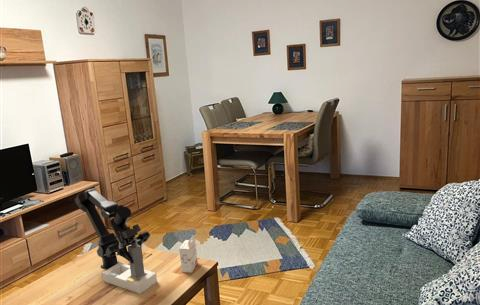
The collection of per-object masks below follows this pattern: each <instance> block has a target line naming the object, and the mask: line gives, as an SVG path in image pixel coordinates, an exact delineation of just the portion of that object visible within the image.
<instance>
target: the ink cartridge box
mask: <svg viewBox="0 0 480 305" xmlns="http://www.w3.org/2000/svg"><path fill="white" fill-rule="evenodd" d="M196 245H197V244H196V238H195V234H192V236H191V237H190V238H189V239H185V240H184V241H183V243H182V244H181V245H180V247H179V248H178V250H179V257H180V265H181V266H180V267H181V272H182V273H190V274H191V273H193V272H194V270H195V268H196V266H197V265H198V256H197V255H198V253H197V246H196Z"/></svg>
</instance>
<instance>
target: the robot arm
mask: <svg viewBox="0 0 480 305" xmlns="http://www.w3.org/2000/svg"><path fill="white" fill-rule="evenodd" d="M74 200H75V201H74V202H75V205H76V206H77V207H78V208H79V209H80V210H81V211H82V212H84V213H85V214H86V215H87V217H88V219H89V221H90V223H91V225H92V227H93V229H94V231H95V233H96V234H97V237H98V243H97V244H98V248H97V250H96V253H97V256H98V257H99V258H101V259H102V264H101V265H100V268H102V269H106V270H108V269H109V268H111V267H113V266H114V265H116V264H118V263H119V262H120V261H118V257H117V256H120V257H122V258H123V259H125V260H127V261H128V262H129V263H130V262H131V263H132V264H133V263H134V262H133V259H132V258H131V256H130V254H129V253H128V248H127V247H128V246H131V244H133V243H136V244H138V245H140V246H141V250H142V251H143V249H142V245H143V243H146V242H147V241H148V240H149V238H150V237H151V234H150V232H149V231H147V230H145V231H142V232H141V227H140V226H139V223H137V224H135V225H132V228H131V227H130V226H128V225H127V223H128V221H129V218H130V217H131V215H132V210H131V209H130V208H129V207H127V206H124V205H123V204H119V203H117V202H116V201H112V200H107V199H106V197H104V196H103V195H102V194H100V193H99V192H98V190H97V188H90V189H87V190H85V191H83V192H82V193H81V194H78V195H76V197H75V198H74ZM96 207H97V208H98V209H99V211H100V213H99V211H98V209H97V208H96ZM101 216H102V217H101ZM102 218H104V219H105V220H109V219H110V220H109V224H108V225H109V227H110V228H112V230H113V232H109V231H108V229H107V226H106V225H105V223H104V221H103V219H102ZM138 232H140V233H138ZM137 235H138V236H137ZM143 256H144V255H143V254H142V258H143V259H144V257H143Z"/></svg>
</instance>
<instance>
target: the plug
mask: <svg viewBox="0 0 480 305" xmlns="http://www.w3.org/2000/svg"><path fill="white" fill-rule="evenodd" d="M127 251H128V253H129V254H130V256H131V258H132V259H133V262H134V263H133V264H132V263H131V262H129V265H130V270H131V275H132V276H133V277H135V278H138V277H140V276H142V275H144V274H145V273H144V270H145V267H144V257H143V258H142V255H143V249H142V250H141V246H140V245H138V244H136V243H133V244H131V245H129V246H127Z"/></svg>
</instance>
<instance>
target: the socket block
mask: <svg viewBox="0 0 480 305" xmlns="http://www.w3.org/2000/svg"><path fill="white" fill-rule="evenodd" d="M118 262H119V263H118V264H116V265H114V266H113V267H111V268H109V269H106V270H105V271H102V273H101V275H102V280H103V282H105V283H108V284H110V285H114V286H116V287H119V288H123V289H125V290H128V291H131V292H134V293H137V294H142V293H143V292H145V291H146V290H147V289H149V288H150V287H152V286H154V284H155V283H157V282H158V279H157V272H154V271H150V270H148V269H144V273H145V274H144V275H142V276H140V277H138V278H135V277H133V276H132V275H131V270H130V264H127V263H124V262H120V261H118Z"/></svg>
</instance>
